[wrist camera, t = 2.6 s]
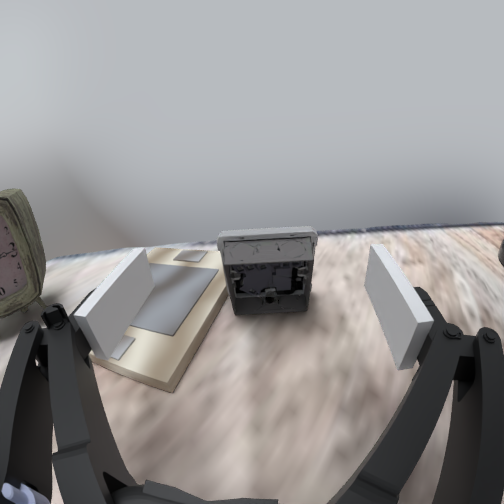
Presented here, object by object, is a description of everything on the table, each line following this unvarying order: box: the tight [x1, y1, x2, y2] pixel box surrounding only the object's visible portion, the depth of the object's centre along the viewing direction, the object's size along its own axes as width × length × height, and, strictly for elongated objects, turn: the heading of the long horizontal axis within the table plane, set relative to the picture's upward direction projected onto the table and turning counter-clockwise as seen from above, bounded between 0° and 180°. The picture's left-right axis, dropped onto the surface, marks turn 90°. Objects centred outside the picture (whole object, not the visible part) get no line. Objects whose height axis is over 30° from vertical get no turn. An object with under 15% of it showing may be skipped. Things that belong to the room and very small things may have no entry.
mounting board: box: [88, 248, 229, 393], centre depth 30 cm, size 15×22×2 cm
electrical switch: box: [217, 226, 318, 315], centre depth 27 cm, size 9×5×9 cm, turn 89°
